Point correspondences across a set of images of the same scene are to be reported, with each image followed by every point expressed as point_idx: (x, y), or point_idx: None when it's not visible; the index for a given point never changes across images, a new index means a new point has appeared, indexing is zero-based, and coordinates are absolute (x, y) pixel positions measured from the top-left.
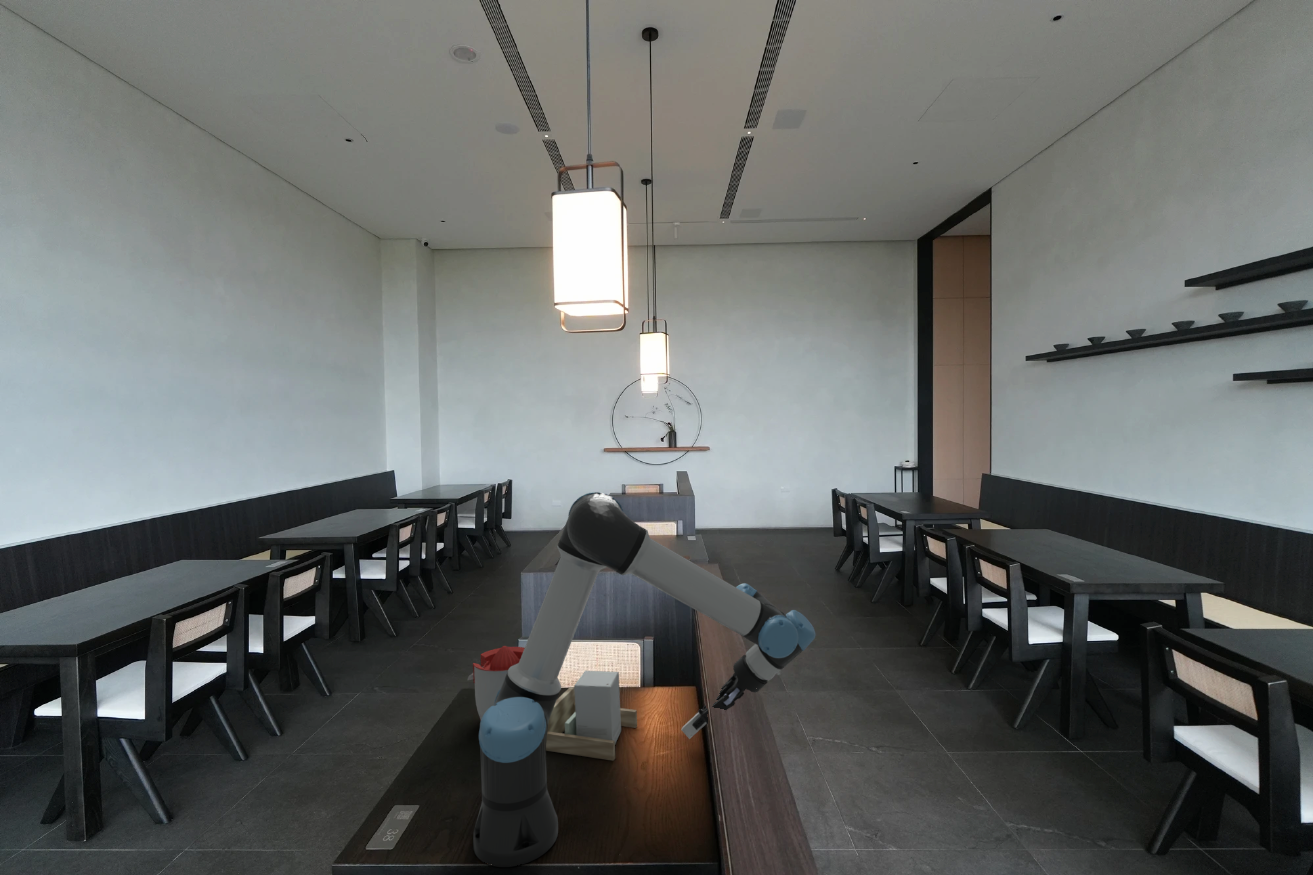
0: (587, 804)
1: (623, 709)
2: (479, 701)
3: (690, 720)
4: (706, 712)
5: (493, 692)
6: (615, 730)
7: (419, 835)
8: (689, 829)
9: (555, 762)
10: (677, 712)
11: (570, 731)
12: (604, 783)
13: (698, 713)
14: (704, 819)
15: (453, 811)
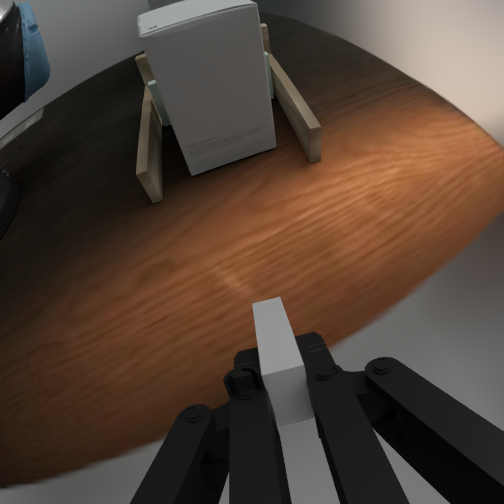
0: (28, 251)
1: (303, 107)
2: None
3: (271, 325)
4: (159, 456)
5: (150, 8)
6: (211, 143)
7: (3, 153)
8: (9, 454)
9: (125, 138)
10: (444, 205)
11: (161, 99)
12: (77, 238)
13: (267, 363)
14: (36, 480)
15: (28, 143)
